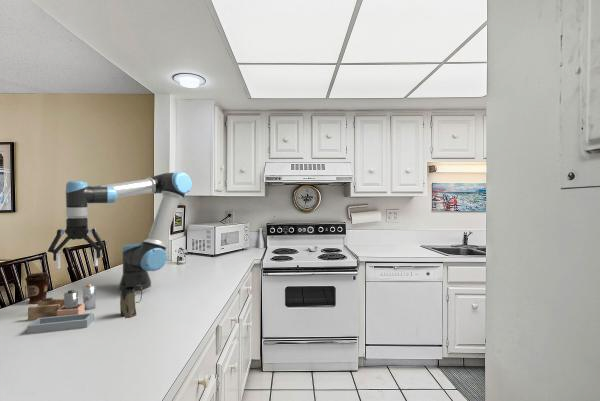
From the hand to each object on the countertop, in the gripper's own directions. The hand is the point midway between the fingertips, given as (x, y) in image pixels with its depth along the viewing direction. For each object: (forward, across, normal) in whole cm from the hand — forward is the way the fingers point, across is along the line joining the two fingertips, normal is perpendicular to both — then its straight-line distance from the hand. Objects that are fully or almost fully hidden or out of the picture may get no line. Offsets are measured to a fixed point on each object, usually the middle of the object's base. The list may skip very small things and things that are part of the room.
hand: (77, 267), depth 139 cm
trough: (+18, 0, +22) cm, 28 cm away
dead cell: (+17, -1, +14) cm, 22 cm away
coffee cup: (+18, +20, -19) cm, 33 cm away
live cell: (+18, -5, +3) cm, 19 cm away
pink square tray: (+18, -1, +14) cm, 23 cm away
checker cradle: (+18, +8, +6) cm, 21 cm away
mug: (+18, -22, +17) cm, 34 cm away
